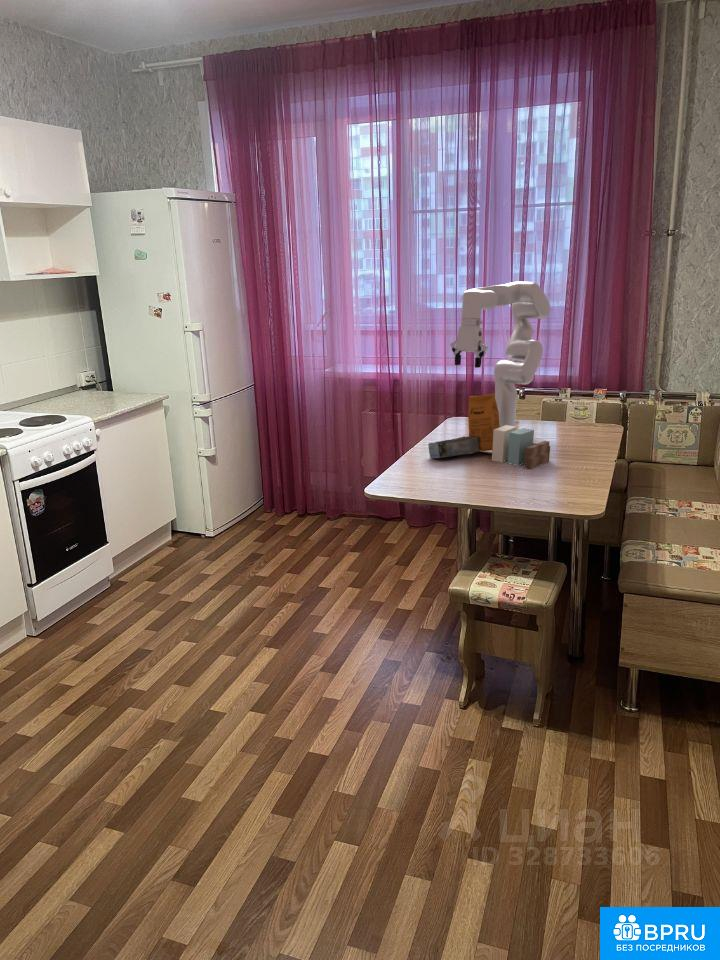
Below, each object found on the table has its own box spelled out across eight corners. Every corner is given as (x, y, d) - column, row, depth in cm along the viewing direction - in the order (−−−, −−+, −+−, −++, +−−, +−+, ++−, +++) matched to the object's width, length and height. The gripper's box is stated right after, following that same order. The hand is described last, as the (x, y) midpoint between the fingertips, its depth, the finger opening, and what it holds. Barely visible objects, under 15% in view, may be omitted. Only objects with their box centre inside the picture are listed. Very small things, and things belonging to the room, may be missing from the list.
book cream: (504, 454, 292) (506, 425, 288) (514, 456, 289) (516, 426, 285) (491, 459, 284) (493, 429, 281) (502, 462, 281) (504, 431, 278)
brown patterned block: (504, 452, 295) (505, 432, 293) (549, 461, 282) (550, 441, 280) (483, 459, 285) (484, 439, 282) (528, 469, 272) (530, 448, 269)
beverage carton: (428, 458, 286) (426, 441, 286) (469, 451, 294) (468, 435, 294) (439, 458, 279) (437, 441, 278) (481, 452, 287) (479, 435, 287)
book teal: (521, 458, 287) (523, 428, 283) (531, 460, 284) (534, 429, 280) (507, 463, 280) (509, 432, 276) (518, 465, 277) (520, 434, 273)
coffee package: (477, 449, 300) (471, 395, 298) (505, 447, 293) (500, 392, 291) (466, 452, 292) (460, 397, 289) (495, 450, 285) (489, 393, 282)
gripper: (494, 324, 289) (490, 367, 293) (458, 321, 300) (455, 363, 305) (483, 324, 284) (480, 369, 288) (447, 321, 295) (444, 364, 299)
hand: (467, 366), depth 296 cm, fingers open, 9 cm apart
